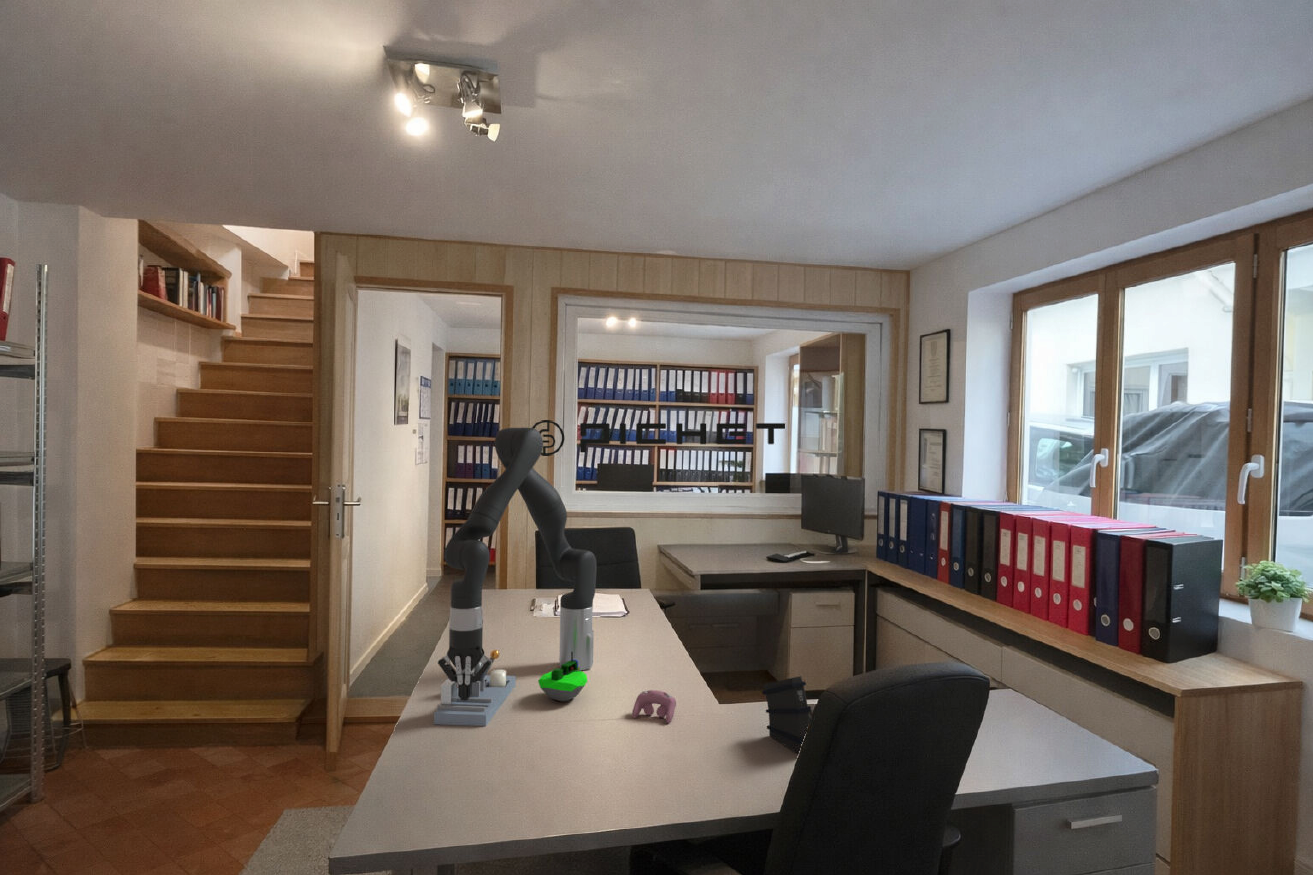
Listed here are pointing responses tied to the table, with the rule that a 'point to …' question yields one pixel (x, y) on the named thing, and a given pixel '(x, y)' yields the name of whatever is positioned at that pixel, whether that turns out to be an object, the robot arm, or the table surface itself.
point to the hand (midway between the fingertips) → (465, 699)
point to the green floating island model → (563, 681)
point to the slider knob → (448, 692)
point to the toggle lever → (494, 655)
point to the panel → (475, 704)
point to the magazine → (787, 711)
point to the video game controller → (655, 697)
